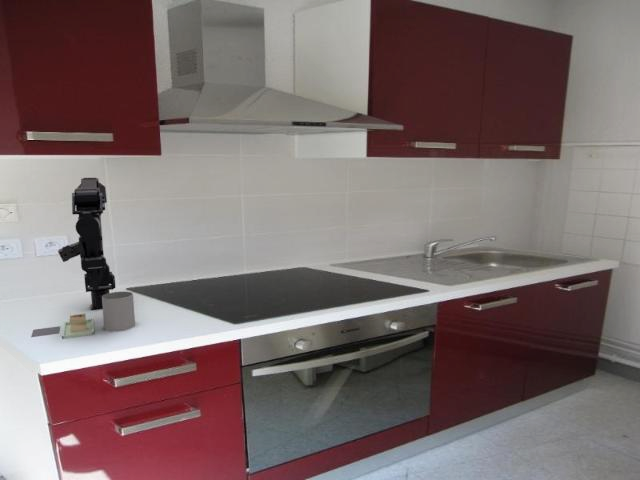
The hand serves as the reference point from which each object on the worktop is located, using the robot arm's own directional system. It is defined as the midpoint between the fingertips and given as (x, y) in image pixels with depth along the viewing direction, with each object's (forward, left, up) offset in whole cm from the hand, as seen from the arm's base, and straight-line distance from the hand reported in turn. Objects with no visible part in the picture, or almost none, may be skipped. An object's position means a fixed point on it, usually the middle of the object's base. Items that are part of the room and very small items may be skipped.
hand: (95, 286), depth 144 cm
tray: (-1, -5, -13) cm, 14 cm away
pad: (-4, -14, -13) cm, 19 cm away
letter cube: (-1, -5, -13) cm, 14 cm away
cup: (+1, +6, -13) cm, 14 cm away
